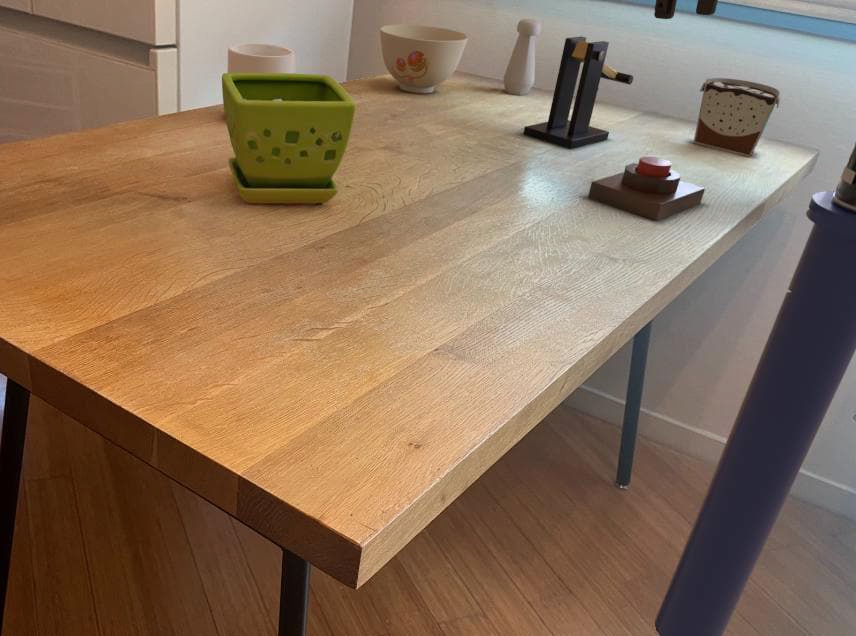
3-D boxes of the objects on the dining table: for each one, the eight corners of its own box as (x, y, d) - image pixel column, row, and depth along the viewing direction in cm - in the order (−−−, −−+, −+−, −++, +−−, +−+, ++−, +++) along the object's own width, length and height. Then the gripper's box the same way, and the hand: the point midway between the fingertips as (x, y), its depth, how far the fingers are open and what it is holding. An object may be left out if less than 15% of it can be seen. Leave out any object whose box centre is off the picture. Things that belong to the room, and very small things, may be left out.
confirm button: (645, 167, 115) (649, 154, 115) (673, 176, 113) (677, 163, 112) (630, 172, 113) (634, 159, 112) (658, 181, 111) (662, 167, 110)
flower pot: (218, 173, 111) (220, 70, 105) (323, 174, 114) (331, 74, 108) (232, 211, 100) (234, 98, 93) (348, 211, 103) (359, 101, 96)
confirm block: (633, 183, 122) (641, 154, 119) (700, 204, 116) (709, 174, 114) (587, 197, 114) (594, 167, 112) (656, 221, 108) (665, 190, 106)
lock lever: (597, 80, 145) (603, 66, 145) (629, 88, 142) (635, 74, 141) (561, 53, 135) (567, 38, 134) (594, 61, 131) (601, 45, 130)
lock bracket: (560, 126, 146) (581, 32, 139) (607, 139, 141) (631, 43, 133) (522, 134, 140) (542, 36, 132) (570, 149, 134) (593, 48, 127)
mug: (262, 131, 130) (265, 59, 124) (213, 117, 134) (214, 47, 129) (313, 119, 138) (318, 50, 133) (265, 105, 143) (268, 39, 138)
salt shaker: (529, 97, 163) (543, 23, 156) (499, 93, 165) (512, 19, 158) (533, 91, 168) (548, 19, 161) (504, 87, 170) (517, 15, 163)
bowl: (357, 86, 161) (362, 28, 156) (406, 76, 172) (412, 22, 166) (428, 104, 153) (436, 44, 147) (475, 93, 163) (484, 36, 158)
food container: (771, 152, 142) (794, 89, 137) (759, 159, 138) (782, 94, 132) (698, 135, 148) (716, 74, 143) (684, 140, 144) (703, 78, 139)
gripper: (709, -146, 90) (676, 23, 98) (782, -141, 97) (746, 16, 105) (648, -143, 95) (621, 17, 103) (721, -139, 103) (691, 10, 111)
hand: (684, 16), depth 104 cm, fingers open, 8 cm apart
